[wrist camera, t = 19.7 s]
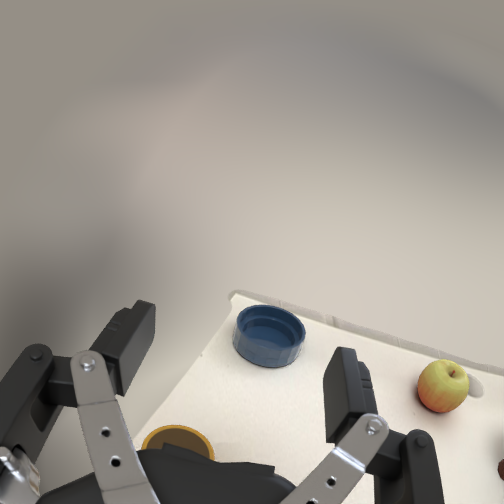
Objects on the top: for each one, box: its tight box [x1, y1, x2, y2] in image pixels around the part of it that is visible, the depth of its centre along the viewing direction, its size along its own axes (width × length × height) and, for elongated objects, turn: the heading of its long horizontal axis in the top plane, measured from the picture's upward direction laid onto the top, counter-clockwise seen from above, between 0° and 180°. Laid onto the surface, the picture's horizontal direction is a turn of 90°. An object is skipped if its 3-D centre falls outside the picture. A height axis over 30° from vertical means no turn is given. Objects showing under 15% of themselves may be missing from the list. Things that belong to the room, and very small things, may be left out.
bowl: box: [233, 305, 306, 367], centre depth 52 cm, size 11×11×4 cm
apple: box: [417, 359, 469, 413], centre depth 43 cm, size 10×10×8 cm
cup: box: [141, 425, 215, 461], centre depth 24 cm, size 6×6×11 cm
